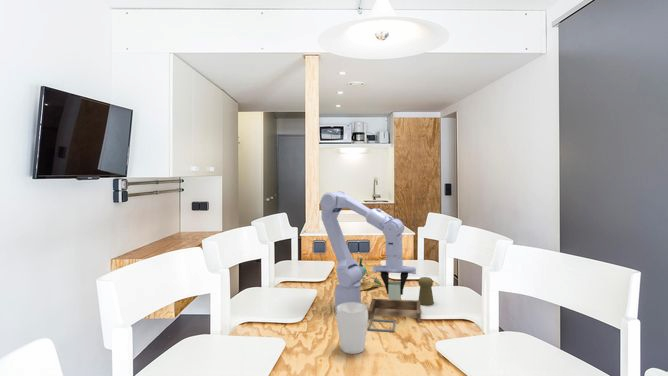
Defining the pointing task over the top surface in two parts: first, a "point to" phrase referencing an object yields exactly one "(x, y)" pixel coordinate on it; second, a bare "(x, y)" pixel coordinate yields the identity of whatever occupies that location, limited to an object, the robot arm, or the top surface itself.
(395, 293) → the sage block
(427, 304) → the cork
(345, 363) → the top surface
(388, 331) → the gray square frame
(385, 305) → the brown wooden box
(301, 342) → the top surface
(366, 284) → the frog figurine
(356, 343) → the cup
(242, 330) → the top surface
